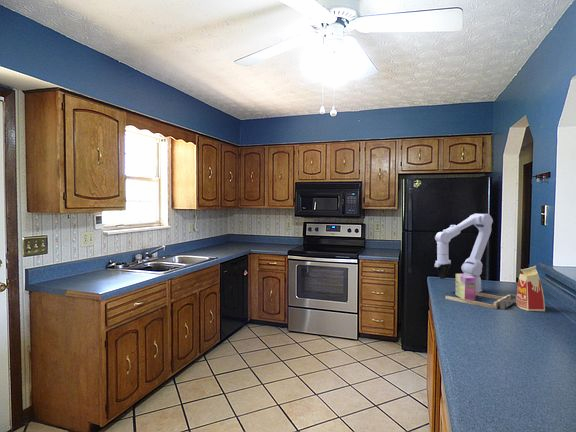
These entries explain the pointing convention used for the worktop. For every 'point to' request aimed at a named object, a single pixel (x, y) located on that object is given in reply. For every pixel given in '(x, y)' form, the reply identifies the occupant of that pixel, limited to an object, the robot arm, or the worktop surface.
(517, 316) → the worktop surface
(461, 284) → the box
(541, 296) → the milk carton
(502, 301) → the bay
